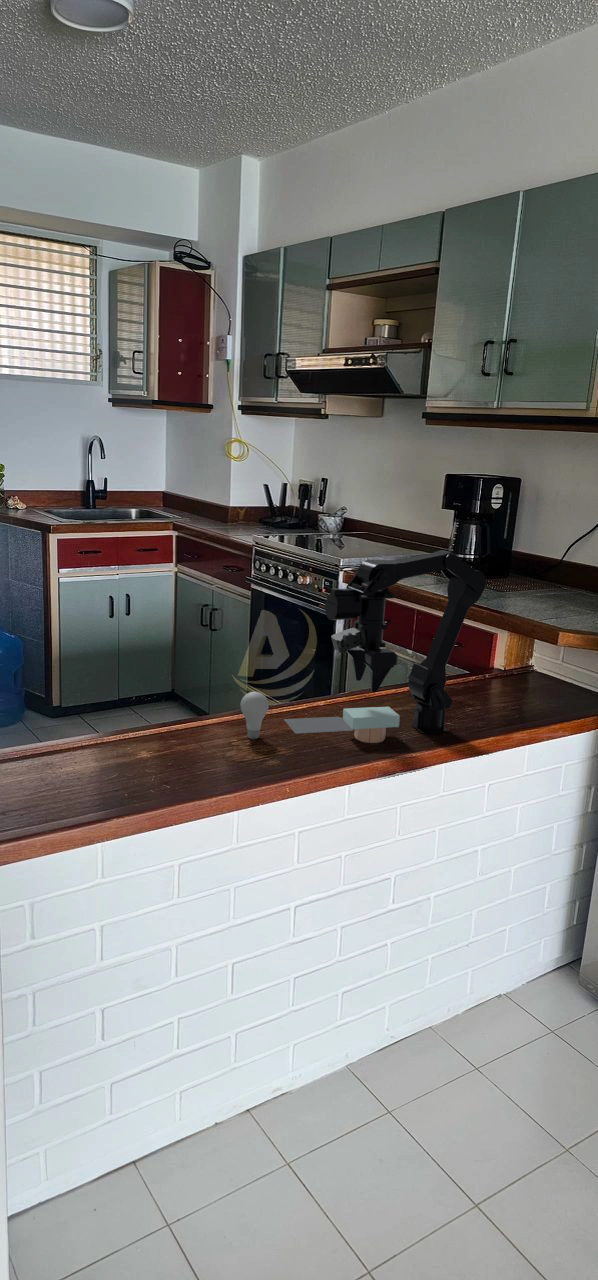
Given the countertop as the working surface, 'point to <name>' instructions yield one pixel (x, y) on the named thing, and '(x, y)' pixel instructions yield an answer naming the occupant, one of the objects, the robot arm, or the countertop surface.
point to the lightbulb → (254, 712)
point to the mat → (318, 725)
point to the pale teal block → (371, 717)
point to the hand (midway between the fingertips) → (365, 686)
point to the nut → (370, 735)
